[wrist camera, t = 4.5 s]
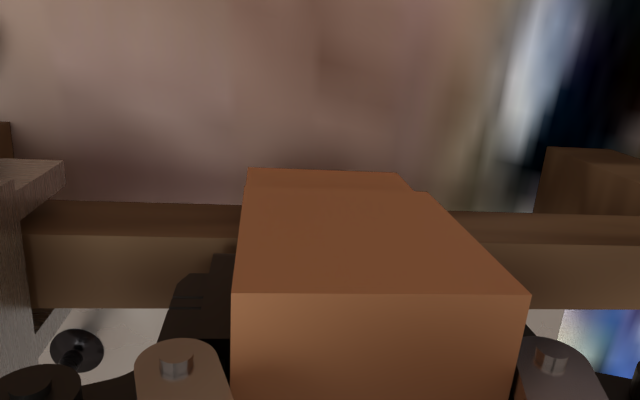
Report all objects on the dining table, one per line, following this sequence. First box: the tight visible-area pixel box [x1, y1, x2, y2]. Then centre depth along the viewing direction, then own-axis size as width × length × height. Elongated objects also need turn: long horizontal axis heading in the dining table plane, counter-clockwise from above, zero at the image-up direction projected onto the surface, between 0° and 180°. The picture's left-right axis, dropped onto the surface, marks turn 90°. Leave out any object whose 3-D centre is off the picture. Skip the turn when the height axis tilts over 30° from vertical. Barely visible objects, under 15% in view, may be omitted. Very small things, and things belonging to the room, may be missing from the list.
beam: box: [0, 122, 640, 309], centre depth 17 cm, size 4×28×8 cm, turn 86°
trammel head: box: [230, 167, 532, 400], centre depth 15 cm, size 11×4×12 cm, turn 176°
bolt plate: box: [38, 308, 564, 385], centre depth 23 cm, size 8×26×1 cm, turn 86°
